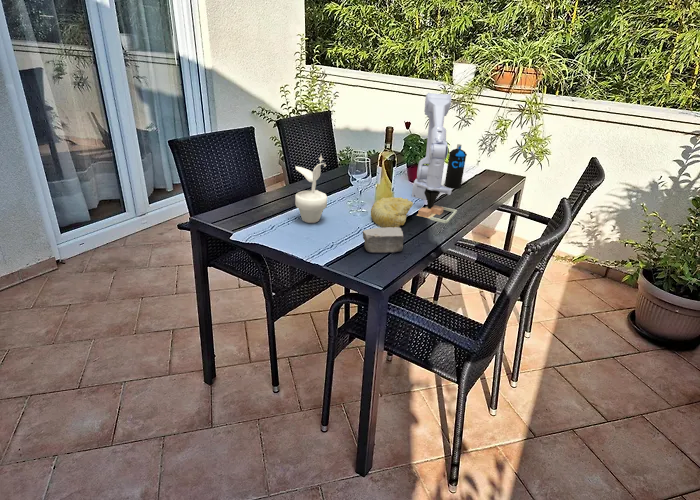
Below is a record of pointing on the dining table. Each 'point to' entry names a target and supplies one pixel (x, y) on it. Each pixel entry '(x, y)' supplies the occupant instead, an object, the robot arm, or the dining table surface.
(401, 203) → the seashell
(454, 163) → the aerosol can
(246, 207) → the dining table surface
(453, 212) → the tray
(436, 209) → the tile
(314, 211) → the potted plant
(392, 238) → the decorative stone
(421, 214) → the tile
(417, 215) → the board
